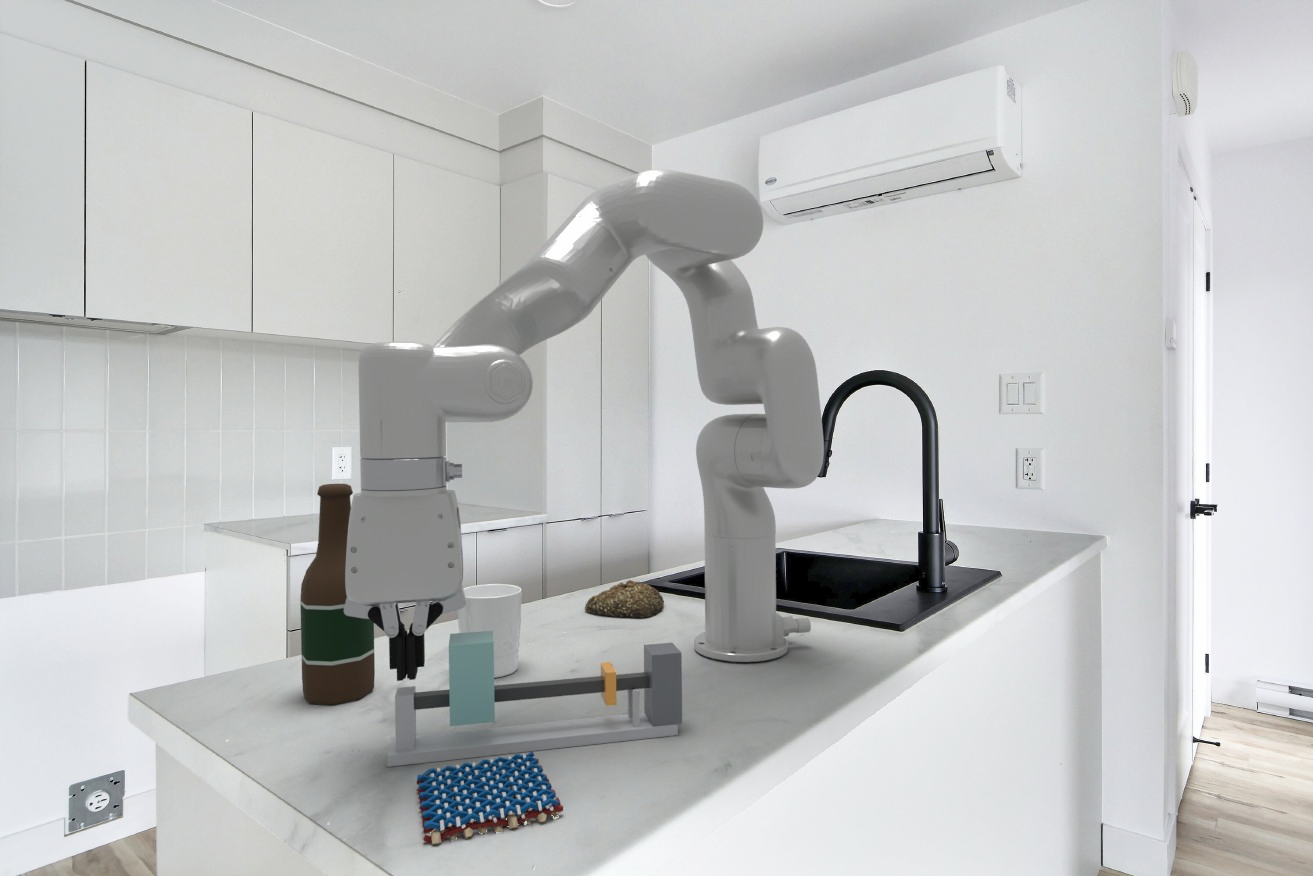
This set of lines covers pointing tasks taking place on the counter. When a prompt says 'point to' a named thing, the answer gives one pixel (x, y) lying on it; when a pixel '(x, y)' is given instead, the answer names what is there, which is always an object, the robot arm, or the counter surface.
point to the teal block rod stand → (654, 722)
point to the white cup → (495, 621)
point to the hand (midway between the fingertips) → (407, 675)
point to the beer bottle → (333, 614)
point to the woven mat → (484, 796)
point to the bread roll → (626, 601)
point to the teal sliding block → (471, 678)
